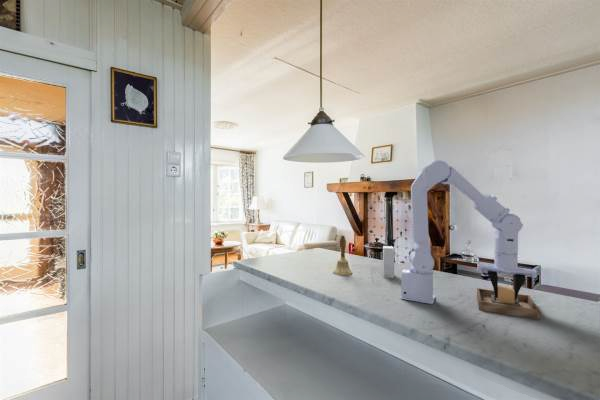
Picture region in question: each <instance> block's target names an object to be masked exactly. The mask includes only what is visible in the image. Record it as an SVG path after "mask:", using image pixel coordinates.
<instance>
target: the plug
mask: <svg viewBox="0 0 600 400" xmlns="http://www.w3.org/2000/svg"><path fill="white" fill-rule="evenodd" d="M497 288H498V298H496V300H497V301H499V302H505V303H512V304H514V299H515V291H514V289H513V286H504V285H498V286H497Z"/></svg>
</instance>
